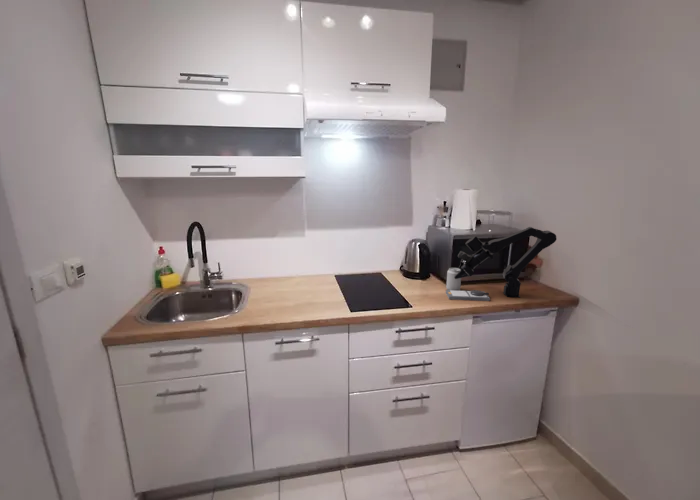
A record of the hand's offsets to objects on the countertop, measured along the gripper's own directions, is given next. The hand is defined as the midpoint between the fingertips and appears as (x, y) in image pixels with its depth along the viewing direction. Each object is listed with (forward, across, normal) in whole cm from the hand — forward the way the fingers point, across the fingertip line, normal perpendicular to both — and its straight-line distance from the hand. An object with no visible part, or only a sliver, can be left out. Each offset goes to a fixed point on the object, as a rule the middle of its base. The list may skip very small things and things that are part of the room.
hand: (454, 275), depth 179 cm
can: (+6, 0, +6) cm, 8 cm away
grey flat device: (+1, +9, +10) cm, 14 cm away
